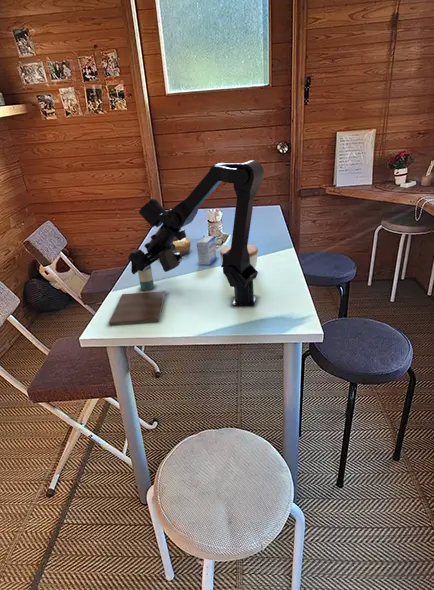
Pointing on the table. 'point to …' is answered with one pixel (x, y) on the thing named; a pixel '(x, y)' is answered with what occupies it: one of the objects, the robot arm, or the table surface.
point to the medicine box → (206, 250)
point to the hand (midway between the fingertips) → (141, 268)
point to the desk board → (138, 308)
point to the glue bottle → (146, 278)
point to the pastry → (182, 245)
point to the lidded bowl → (251, 249)
